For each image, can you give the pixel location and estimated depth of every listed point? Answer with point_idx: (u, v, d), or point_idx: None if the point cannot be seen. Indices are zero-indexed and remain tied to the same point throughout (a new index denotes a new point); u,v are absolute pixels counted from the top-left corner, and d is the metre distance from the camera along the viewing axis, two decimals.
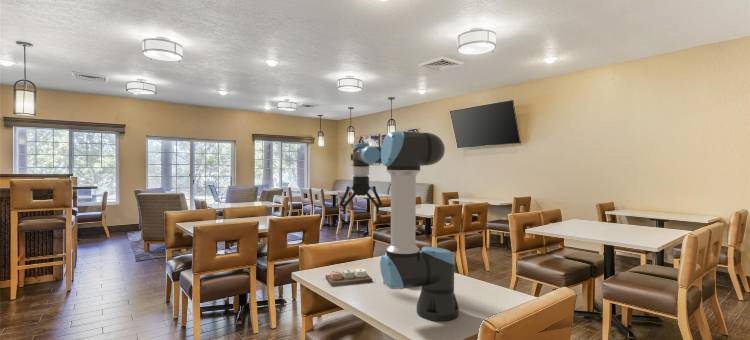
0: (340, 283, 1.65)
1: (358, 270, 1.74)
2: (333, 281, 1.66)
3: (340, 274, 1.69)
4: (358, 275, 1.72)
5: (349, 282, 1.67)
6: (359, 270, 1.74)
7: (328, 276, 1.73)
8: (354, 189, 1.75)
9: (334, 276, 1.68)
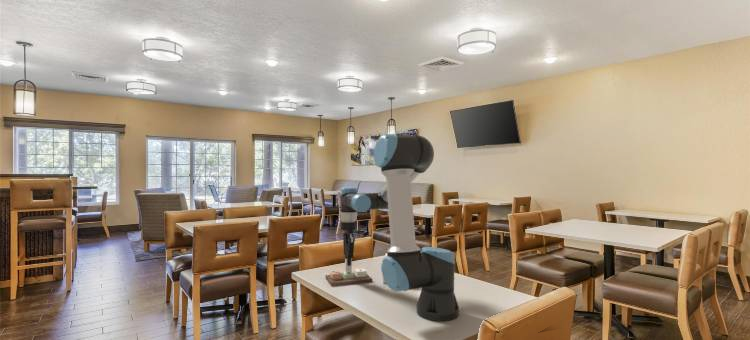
0: (340, 283, 1.65)
1: (358, 270, 1.74)
2: (333, 281, 1.66)
3: (340, 274, 1.69)
4: (358, 275, 1.72)
5: (349, 282, 1.67)
6: (359, 270, 1.74)
7: (328, 276, 1.73)
8: (344, 233, 1.75)
9: (334, 276, 1.68)
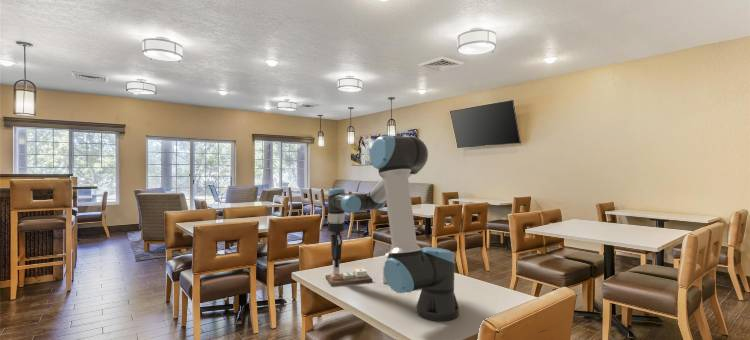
0: (340, 283, 1.65)
1: (358, 270, 1.74)
2: (333, 281, 1.66)
3: (340, 276, 1.69)
4: (358, 275, 1.72)
5: (349, 282, 1.67)
6: (359, 270, 1.74)
7: (328, 276, 1.73)
8: None
9: (334, 278, 1.68)
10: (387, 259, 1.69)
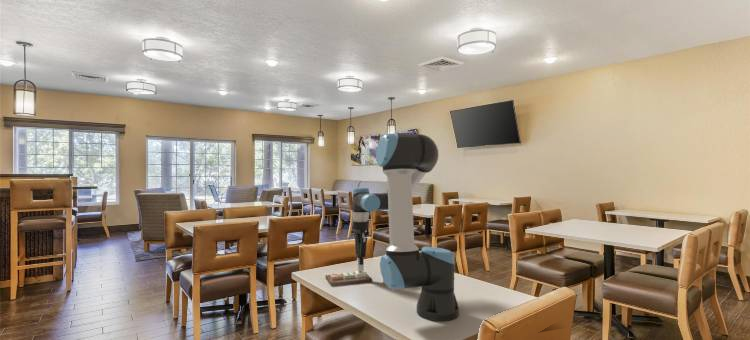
0: (340, 283, 1.65)
1: (358, 272, 1.74)
2: (333, 281, 1.66)
3: (340, 277, 1.69)
4: (358, 277, 1.72)
5: (349, 282, 1.67)
6: (359, 272, 1.74)
7: (328, 276, 1.73)
8: None
9: (334, 279, 1.68)
10: None
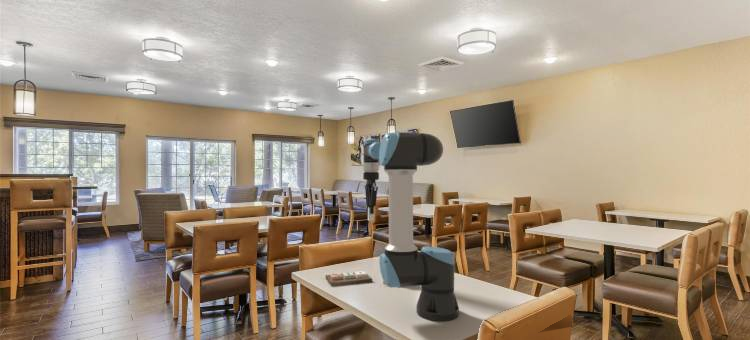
0: (340, 283, 1.65)
1: (358, 273, 1.74)
2: (333, 281, 1.66)
3: (340, 277, 1.69)
4: None
5: (349, 282, 1.67)
6: (359, 273, 1.74)
7: (328, 276, 1.73)
8: (367, 184, 1.83)
9: (334, 279, 1.68)
10: None
